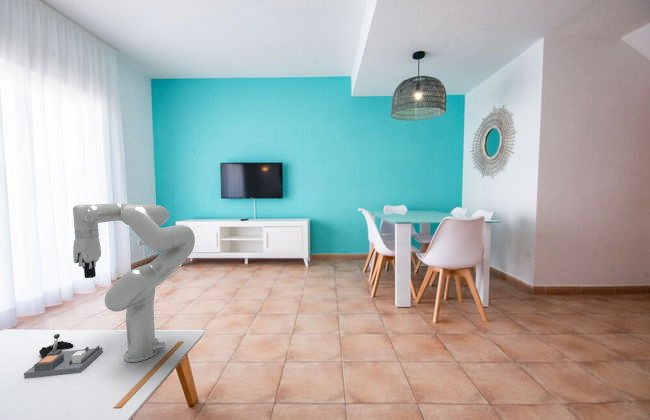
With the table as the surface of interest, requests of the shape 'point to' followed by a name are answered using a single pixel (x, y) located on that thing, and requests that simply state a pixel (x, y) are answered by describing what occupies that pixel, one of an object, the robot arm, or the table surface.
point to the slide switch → (78, 356)
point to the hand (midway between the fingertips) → (90, 277)
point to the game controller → (48, 349)
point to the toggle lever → (55, 341)
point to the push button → (49, 359)
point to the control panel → (63, 363)
